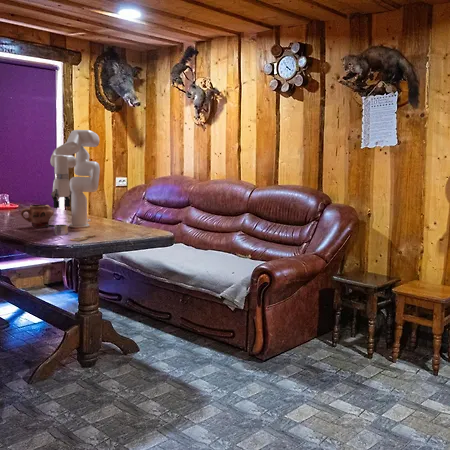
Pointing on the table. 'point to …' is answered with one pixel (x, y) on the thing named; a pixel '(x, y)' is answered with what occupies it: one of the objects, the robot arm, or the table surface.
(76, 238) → the spatula
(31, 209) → the brown ceramic pot
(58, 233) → the saucepan
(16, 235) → the table surface
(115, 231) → the table surface
